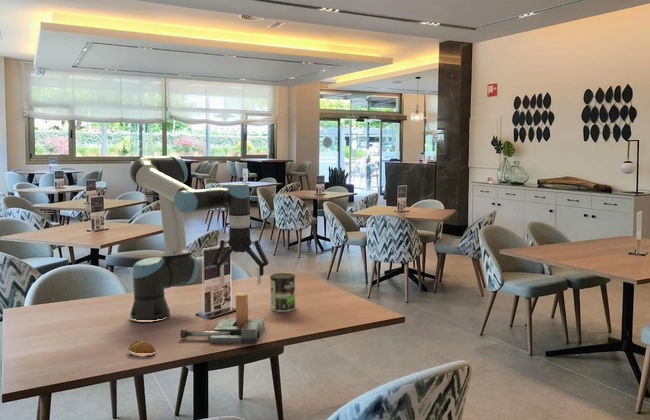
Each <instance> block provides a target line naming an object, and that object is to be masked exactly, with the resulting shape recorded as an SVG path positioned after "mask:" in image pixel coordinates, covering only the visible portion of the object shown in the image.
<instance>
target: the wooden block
mask: <svg viewBox="0 0 650 420" xmlns="http://www.w3.org/2000/svg"><path fill="white" fill-rule="evenodd" d="M235 318H236V326H244V324H245V323H246V322H248V319H249V295H248V293H242V292H241V293H236V294H235Z"/></svg>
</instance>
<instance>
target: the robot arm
mask: <svg viewBox="0 0 650 420" xmlns="http://www.w3.org/2000/svg"><path fill="white" fill-rule="evenodd" d="M187 167H188V166H187V165H186V162H185V161H184V160H183V158H181V157H180V156H177V155H153V156H149V155H148V156H146V155H145V156H142V157H139V158H137V159H136V160H135V161H134V162H133V163H132V164H131V167H130V172H129V173H130V178H131V180H132V182H133V183H134V184H135V185H137V186H138V187H140V188H143V189H150V190H151V191H153V192H155V193H157V194H158V198H159V204H160V205H159V207H160V215H161V223H162V233H163V239H164V240H163V241H164V250H165V251H164V252H163V254H162V255H161V256H162V257H157V256H156V257H147V258H143V259H141V260H138V261H136V262H135V263H134V264H133V266H132V284H133V298H134V299H133V304H132V307H131V311H130V319H131V318H132V319H136V320H157V319H163V318H165V317H168V316H169V315H170V316H171V311H170V307H169V306H168V302H167V300H166V297H165V290H166V289H171V288H174V287H178V286H179V287H180V286H186V285H188V284H191V283H193V282H195V280H196V278H197V276H198V275H199V263H198V260H197V258H196V256H194V255H192V253H191V250H190V249H188V247H187V239H186V231H185V230H186V229H185V223H184V214H183V213H186V212H187V213H192V212H198V211H207V210H215V209H226V210H227V209H228V226H230V227H229V228H228V237H229V238H228V239H225V238H223V239H221V240H220V242H219V247H218V250H217V252H216V254H215V255H214V258H213V260H212V263H211V264H212V266H216V267H217V268H216V269H217V276H220V279H219V283H220V285H221V286H222V285H224V284H225V265H224V262H225V261H226V260H227V258H229V257H230V255H231V254H232V253H233V252H234V253H245V252H246V254H248V255H249V257H251V259H252V260H253V261H254V262H255V263H256V265H258V266H257V268H256V270H257V286H261V284H262V277H263V275H264V274H265V273H264V269H265V268H264V267H266V266H268V264H270V263H269V261H268V259H267V258H268V257H266V254H265V253H264V251H263V248H262V247H261V245H260V240H259V239H258V238H256V239H255V240H254V239H253V240H252V238H251V227H250V225H251V214H250V213H251V201H250V197H251V194H250V186H249V184H247V183H245V182H244V183H239V182H238V183H234V182H233V183H229V184H228V185H227V186H228V187H222V186H216V187H215V186H214V187H211V188H201V189H200V188H199V189H195V188H192V187H190V186H188V185H186V184H184V183H185V182H186V181H187V180H188V175H189V173H188V168H187ZM227 245H229V247H230V248H229V250H228V251H227V252H226V253H225V254H224V256H223V257H222V258H221V259H220V260H219V258H220V257H221V254H222V253H223V251H224V248H225V247H226V246H227ZM251 245H253V247H255V249H256V251H257V253H258V255H259V256H258V255H257V254H256V253H255V252H254V251H253V249H252V248H251V247H250V246H251ZM259 257H260V258H259ZM170 316H169V317H170ZM169 317H168V318H169Z"/></svg>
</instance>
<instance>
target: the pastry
mask: <svg viewBox="0 0 650 420" xmlns="http://www.w3.org/2000/svg"><path fill="white" fill-rule="evenodd" d="M128 350H130V351H132V352H135V353H153V352H155V351H157V350H156V348H155V347H154V346H153V345H152V344H150V343H149V342H147V341H143V340H142V341H140V340H134V341H132V343H130V344H129V346H128V349H127V351H128ZM155 353H156V352H155Z"/></svg>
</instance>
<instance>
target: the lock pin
mask: <svg viewBox="0 0 650 420" xmlns="http://www.w3.org/2000/svg"><path fill="white" fill-rule="evenodd" d="M212 335H230V332H214V330H213V331H211V330H210V331H205V330H203V331H202V330H201V331H199V330H198V331H196V330H195V331H194V330H191V331H188V330H187V329H181V330H180V335H179V336H180V338H181V339H187V338H188V337H189V338H190V337H191V338H192V337H193V338H195V337H196V338H197V337H199V338H200V337H202V338H203V337H204V338H205V337H206V338H208V337H211V336H212ZM186 337H187V338H186Z"/></svg>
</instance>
